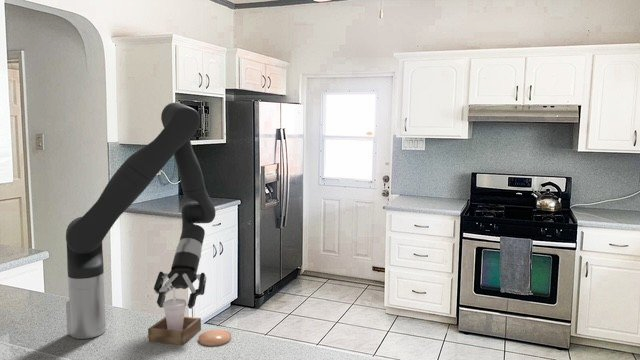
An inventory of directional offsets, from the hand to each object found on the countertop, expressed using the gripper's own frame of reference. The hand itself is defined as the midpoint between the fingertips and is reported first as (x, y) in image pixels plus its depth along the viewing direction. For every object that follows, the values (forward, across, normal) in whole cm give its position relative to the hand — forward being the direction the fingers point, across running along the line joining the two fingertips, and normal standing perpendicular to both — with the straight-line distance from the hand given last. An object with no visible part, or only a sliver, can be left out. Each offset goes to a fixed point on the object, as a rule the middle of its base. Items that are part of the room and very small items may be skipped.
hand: (174, 306), depth 142 cm
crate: (+6, 0, +6) cm, 8 cm away
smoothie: (+6, 0, +6) cm, 8 cm away
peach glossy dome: (+7, +12, +5) cm, 15 cm away
